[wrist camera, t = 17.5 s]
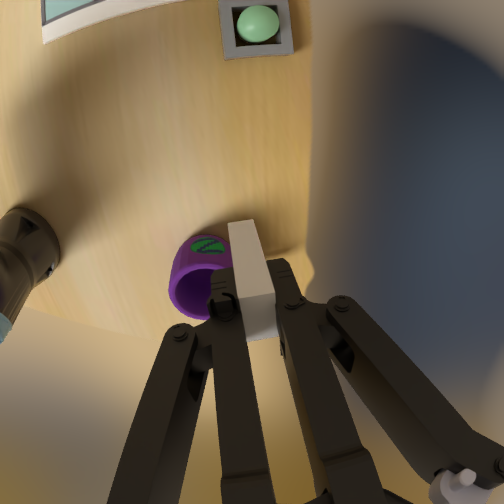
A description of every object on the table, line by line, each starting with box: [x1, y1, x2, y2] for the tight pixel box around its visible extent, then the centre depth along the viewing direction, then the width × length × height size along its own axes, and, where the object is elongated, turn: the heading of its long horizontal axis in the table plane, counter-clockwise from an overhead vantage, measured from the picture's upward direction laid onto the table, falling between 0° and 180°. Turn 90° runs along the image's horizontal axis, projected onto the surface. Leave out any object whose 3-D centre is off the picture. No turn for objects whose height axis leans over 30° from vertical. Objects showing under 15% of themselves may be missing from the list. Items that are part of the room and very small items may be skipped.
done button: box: [236, 5, 279, 44], centre depth 31 cm, size 5×5×5 cm
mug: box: [168, 235, 233, 320], centre depth 49 cm, size 17×11×10 cm, turn 82°
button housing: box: [218, 0, 294, 60], centre depth 32 cm, size 9×9×4 cm
